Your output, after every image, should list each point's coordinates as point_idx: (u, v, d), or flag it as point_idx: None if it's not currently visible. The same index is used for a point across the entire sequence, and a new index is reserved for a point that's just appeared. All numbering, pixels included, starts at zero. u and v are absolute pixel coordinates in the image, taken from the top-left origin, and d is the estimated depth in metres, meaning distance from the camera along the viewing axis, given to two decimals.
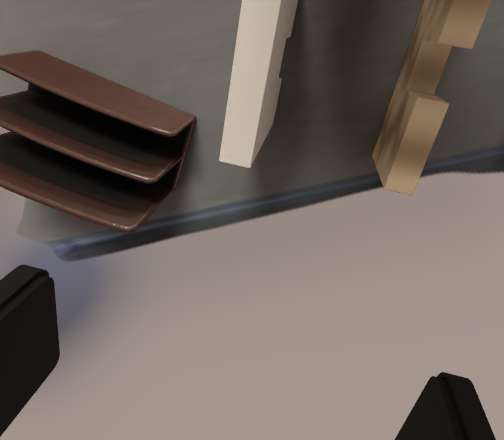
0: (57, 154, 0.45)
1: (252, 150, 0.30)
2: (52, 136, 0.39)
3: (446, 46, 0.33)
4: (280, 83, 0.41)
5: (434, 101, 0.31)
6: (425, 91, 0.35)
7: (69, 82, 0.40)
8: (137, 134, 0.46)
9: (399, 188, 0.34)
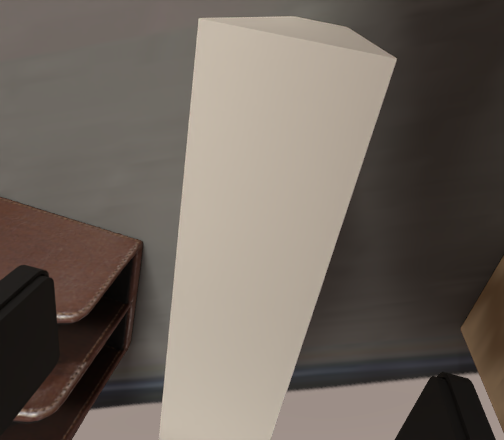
0: None
1: None
2: None
3: None
4: None
5: None
6: None
7: None
8: None
9: None
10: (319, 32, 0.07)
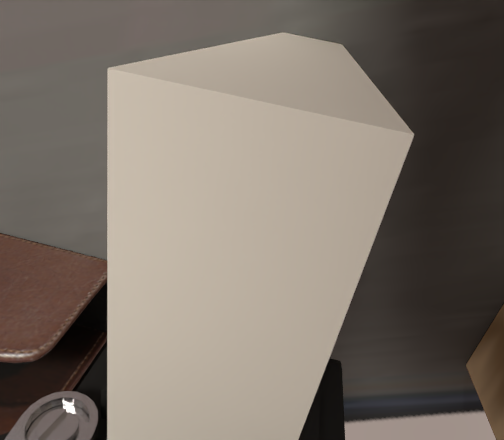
0: None
1: None
2: None
3: None
4: None
5: None
6: None
7: None
8: None
9: None
10: (303, 68, 0.06)
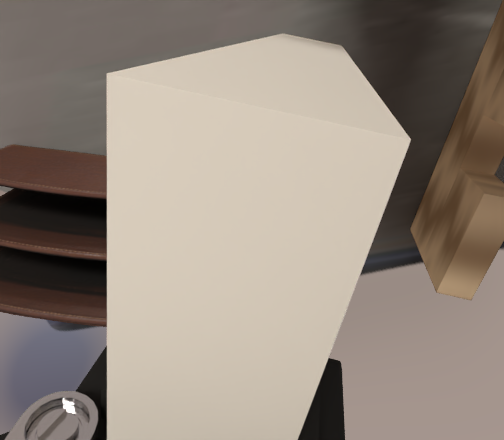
0: None
1: None
2: (37, 236, 0.33)
3: None
4: None
5: None
6: (484, 172, 0.29)
7: (44, 170, 0.35)
8: None
9: (455, 292, 0.28)
10: (302, 71, 0.06)
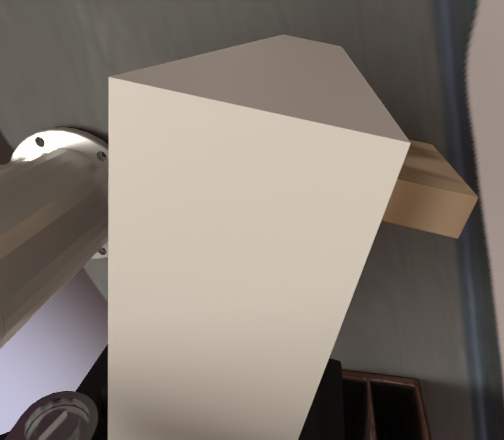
0: None
1: None
2: None
3: None
4: None
5: None
6: None
7: None
8: (357, 420, 0.41)
9: (460, 217, 0.21)
10: (302, 73, 0.06)
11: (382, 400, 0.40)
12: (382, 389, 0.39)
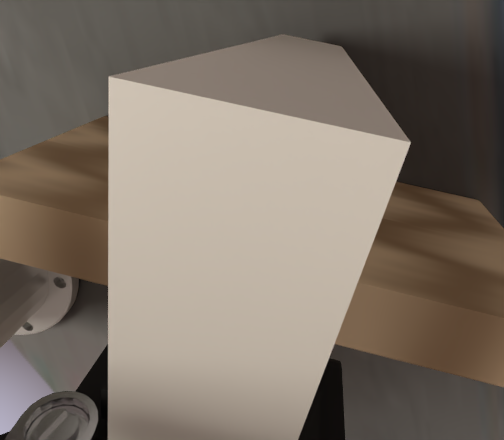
0: None
1: None
2: None
3: None
4: None
5: None
6: None
7: None
8: None
9: None
10: (302, 73, 0.06)
11: None
12: None
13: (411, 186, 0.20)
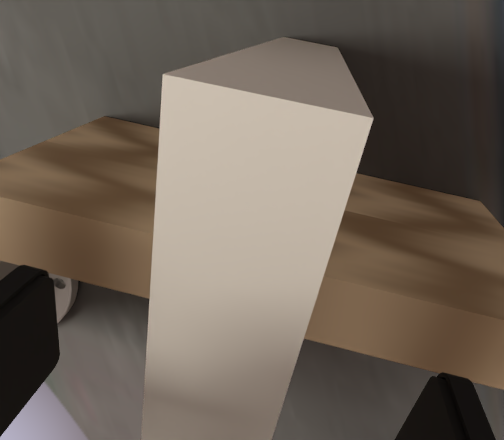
0: None
1: None
2: None
3: None
4: None
5: None
6: None
7: None
8: None
9: None
10: (300, 71, 0.07)
11: None
12: None
13: (412, 187, 0.20)
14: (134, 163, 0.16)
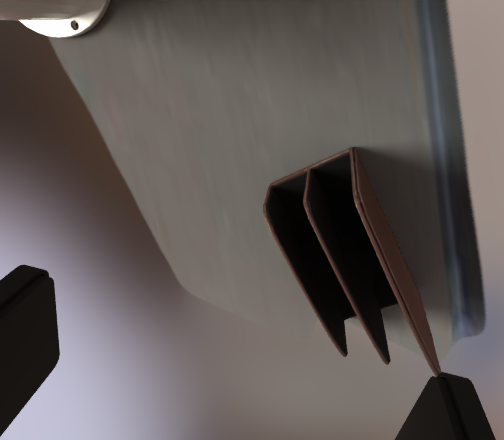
0: None
1: None
2: None
3: None
4: None
5: None
6: None
7: None
8: None
9: None
10: None
11: (334, 183, 0.41)
12: (325, 170, 0.40)
13: None
14: None
